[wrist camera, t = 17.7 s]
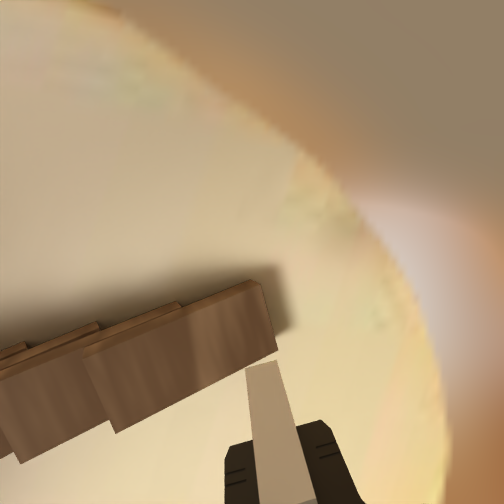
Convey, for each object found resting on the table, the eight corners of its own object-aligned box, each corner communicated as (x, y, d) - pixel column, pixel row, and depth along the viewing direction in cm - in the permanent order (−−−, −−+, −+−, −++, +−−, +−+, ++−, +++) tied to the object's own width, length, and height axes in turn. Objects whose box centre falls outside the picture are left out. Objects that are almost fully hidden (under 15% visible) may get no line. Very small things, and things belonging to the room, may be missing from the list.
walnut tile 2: (196, 362, 24) (25, 445, 19) (175, 300, 22) (-11, 375, 18) (202, 372, 22) (20, 464, 18) (181, 306, 21) (-20, 389, 17)
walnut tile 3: (121, 381, 23) (-74, 483, 18) (96, 321, 22) (-120, 411, 17) (125, 391, 22) (-84, 504, 17) (99, 327, 21) (-135, 427, 16)
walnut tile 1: (267, 341, 24) (115, 417, 20) (250, 279, 22) (84, 347, 19) (278, 350, 22) (115, 433, 18) (260, 284, 21) (82, 359, 17)
